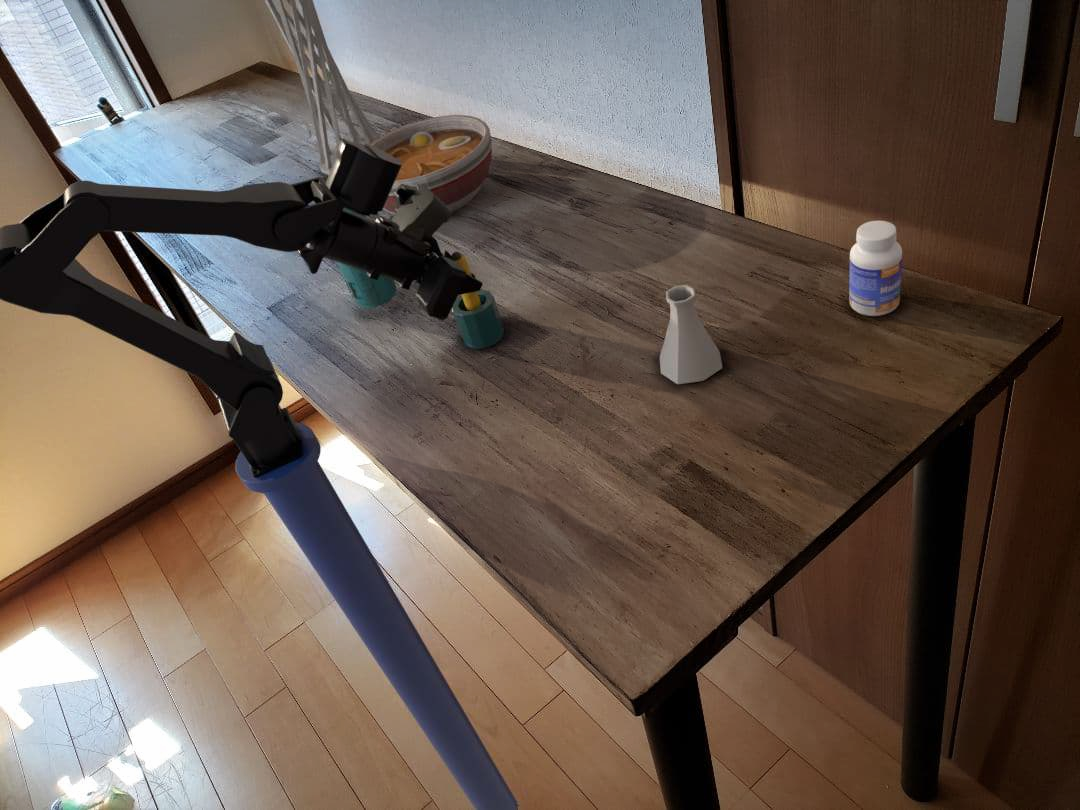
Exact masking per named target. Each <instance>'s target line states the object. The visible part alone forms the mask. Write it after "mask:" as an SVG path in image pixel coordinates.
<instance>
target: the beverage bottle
mask: <svg viewBox="0 0 1080 810" xmlns="http://www.w3.org/2000/svg"><path fill="white" fill-rule="evenodd" d="M328 176H329V175H327V174H326V175H325V176H321V177H322V178H323V179H324V181H325V182H326V180H327V178H328ZM343 210H345V211H348V212H351V213H353V214H356V215H359V216H362V217H364V218H367V216H365V215H361V214H359V213H356V212H354V211H352V210H349V209H347V208H343ZM336 263H337V264H336V265H337V267H338V269H339V272H340V273H341V274H342V276H343V280H344V282H345V285H346V287H347V289H348V291H349V293H350V295H351V297H352V299H353V300H354V302H355V304H356V305H358V306H359V307H361V308H364V309H372V308H377V307H380V306H383V305H385V304H386V303H388V302H390V301H391V300H392V299H393V298H394V297H395V295H396V293H397V283H396V281H395V280H392V279H388V278H385V277H382V276H379V278H378V280H375V279H372V278H370V277H369V276H368V275H367V273H366V272H365V271H364V270H360V269H358V268H355V267H351V266H348V265H345V264H342V263H339V262H336Z"/></svg>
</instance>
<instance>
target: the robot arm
mask: <svg viewBox="0 0 1080 810" xmlns="http://www.w3.org/2000/svg"><path fill="white" fill-rule="evenodd" d="M350 141H351V140H348V139H345V138H341V141H340V144H339V146H338V149H337V154H336V158H335V161H334V163H333V166H332V168H331V171H330V173H329V176H328V178H327V180H326V182H325V181H324V179H323V178H322V177H323V176H317V177H314V178H310V179H306V180H302V181H298V182H295V183H291V184H289V183H286V182H282V181H272V182H262V183H261V182H260V183H252V184H245V185H242V186H239V187H235V188H232V189H229V190H228V189H227V190H218V191H217V190H205V189H204V190H203V189H202V190H201V189H186V188H173V187H171V188H170V187H156V186H155V187H153V186H141V185H140V186H139V185H125V184H124V185H122V184H109V183H108V184H107V183H98V182H95V181H91V180H78V181H74V182H73V183H71V184H70V185H69V186H68V187H67V188H66V189H65V190H64V191H62V192H61V193H60V194H59V195H58V196H55V197H54V198H52V199H51V200H49V201H47V202H46V203H44V204H42V205H40V206H38V207H37V208H35V209H34V210H32V211H31V212H30V213H29V214H28V215H26V217H24V218H23V219H22V220H21V221H19V222H18V223H14V224H6V225H3V226H1V227H0V300H1V301H3V302H5V303H8V304H11V305H14V306H18V307H20V308H24V309H26V310H30V311H33V312H37V313H40V314H47V315H57V316H68V317H72V318H75V319H78V320H80V321H82V322H84V323H86V324H88V325H90V326H92V327H94V328H96V329H98V330H100V331H102V332H105V333H106V334H108V335H111V336H112V337H115V338H117V339H119V340H121V341H122V342H125V343H127V344H129V345H131V346H133V347H135V348H137V349H139V350H141V351H142V352H145V353H147V354H149V355H152V356H154V357H155V358H157V359H159V360H161V361H164V363H167V364H170V365H172V366H173V367H175V368H178V369H180V370H181V371H183V372H186V373H188V374H190V375H192V376H193V377H196V378H197V379H199V380H200V381H201V382H202V383H203V384H204V385H205V386H206V387H207V388H208V389H209V390H211V392H212V393H213V394H214V395H215V396H217V402H218V405H219V409H220V411H221V414H222V417H223V421H224V424H225V428H226V430H227V433H228V436H229V437H230V438H231V440H232V441H234V444H235V445H236V446H237V448H238V450H240V452H242V454H243V455H244V457H245V458H246V460H247V461H248V463H249V464H250V468H251V473H252V475H253V477H255V478H256V477H259V476H261V475H263V474H265V473H268V472H270V471H272V470H274V469H276V468H279V467H281V466H283V465H285V464H287V463H289V462H292V461H294V460H296V459H298V458H300V457H302V456H303V450H302V447H301V443H302V441H303V440H302V437H301V433H300V430H299V428H298V427H297V425H296V423H297V422H295V420H294V418H293V417H292V414H291V413H290V411H289V409H288V408H287V407H281V405H280V403H281V401H282V400H283V395H284V390H283V386H282V384H281V381H280V379H279V376H278V374H277V372H276V370H275V367H274V365H273V362H272V360H271V358H270V357H269V355H268V354H267V352H266V349H265V347H264V345H263V344H256V343H253V342H251V341H249V340H247V339H246V338H245V337H244V336H243V335H242V334H240V333H238V332H236V331H234V332H233V333H232V335H231V337H230V339H229V340H218V339H213V338H210V337H208V336H207V335H205V334H203V333H202V332H199V331H197V330H195V329H193V328H191V327H190V326H188V325H186V324H184V323H183V322H181V321H179V320H177V319H174V318H173V317H171V316H170V315H167V314H165V313H164V312H162V311H160V310H159V309H156V308H154V307H152V306H150V305H148V304H147V303H145V302H143V301H141V300H139V299H137V298H135V297H133V296H131V295H130V294H128V293H126V292H124V291H122V290H120V289H119V288H117V287H114V286H113V285H111V284H109V283H107V282H105V281H104V280H101V279H99V277H96V276H95V275H93V274H92V273H91V272H90V271H88V270H87V268H85V267H84V265H83V264H81V263H80V262H79V261H78V259H76V258H77V257H78V255H79V254H80V253H81V252H82V251H83V249H85V247H86V246H87V245H88V244H89V243H90V241H92V240H93V239H94V238H95V237H96V236H97V235H99V234H100V233H101V232H114V233H115V232H116V233H118V232H119V233H140V234H141V233H142V234H143V233H144V234H164V235H165V234H166V235H168V234H169V235H191V236H192V235H193V236H219V237H227V238H231V239H236V240H238V241H241V242H244V243H247V244H249V245H252V246H255V247H258V248H263V249H270V250H274V251H278V252H285V253H294V252H297V253H298V254H299V256H300V257H301V258H302V260H303V262H304V264H305V266H306V267H307V269H308V270H309V272H310V274H312V275H316V274H317V273H318V272H319V269H320V267H321V264H322V262H323V260H324V259H327V260H330V261H333V262H336V263H337V262H339V263H342V264H345V265H348V266H351V267H355V268H358V269H360V270H364V271H365V272H366V273H367V275H368V276H369V277H370V278H372V279H375V280H378V278H379V276H382V277H385V278H388V279H392V280H394V282H395V283H396V284H397V285H398V286H399V287H400V288H401V289H405V290H407V291H410V288H411V286H412V284H413V283H414V284H418V289H417V291H416V292H415V297H416V299H417V301H418V305H420V307H421V308H422V309H423V310H424V312H425V313H426V314H427V316H429V317H431V318H433V319H438V320H441V321H445V320H447V319H448V317H449V315H450V313H451V312H452V307H453V305H454V302H455V300H456V299H457V298H458V297H459V296H460V295H461V294H466V293H471V292H476V291H479V290H480V289H482V287H483V284H484V283H483V282H482V281H481V280H479V279H478V278H476V275H475V274H474V273H472V272H471V275H472V276H470V275H469V274H467V273H466V271H465V270H464V269H463V268H462V267H461V266H460V265H459V264H458V263H456V262H455V259H454V258H453V257H452V254H451V253H449V251H448V250H447V249H446V250H444V252H442V251H441V249H440V246H439V243H438V240H437V239H436V238H435V237H434V236H433V235H434V234H435V233H436V232H437V231H438V230H439V229H440V227H442V226H443V224H445V223H447V222H448V221H449V220H450V218H451V217H452V214H453V212H452V211H451V210H450V209H449V208H448V207H447V206H446V205H445V204H444V203H443V202H442V201H441V200H440V199H439V198H438V197H437V196H436V195H435V194H433V193H432V192H431V191H430V190H429V189H428V188H427V187H426V186H425V185H422V186H420V185H419V184H417V185H416V187H417V189H416V188H415V187H412V186H408V185H405V184H400V185H399V187H398V188H397V189H396V190H395V191H394V195H395V198H396V201H397V204H398V206H399V208H398V207H396V208H395V210H396V211H397V213H396V214H393V215H391V216H390V218H386V217H384V216H380V217H375V220H373V219H370V218H367V217H369V216H371V215H373V216H378V214H379V212H382V211H383V210H384V208H383V207H384V205H385V203H386V201H387V198H388V196H389V194H390V191H391V189H392V187H393V184H394V182H395V180H396V178H397V175H398V173H399V171H400V168H401V166H402V163H401V162H400V161H399V160H397V159H396V158H394V157H393V156H391V155H389V154H388V153H386V152H384V151H382V150H380V149H378V148H376V147H374V146H372V145H369V144H367V143H365V144H361V143H358V142H350ZM312 202H314V204H311V203H312ZM309 204H310V205H309ZM343 208H347V209H349V210H352V211H354V212H356V213H359V214H361V215H365V216H366V218H364V217H362V216H359V215H356V214H353V213H351V212H348V211H345V210H343Z"/></svg>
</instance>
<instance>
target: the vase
mask: <svg viewBox="0 0 1080 810" xmlns="http://www.w3.org/2000/svg"><path fill="white" fill-rule="evenodd" d="M263 1H264V3H265V4H266V6H267V7H268V9H269V12H270V14H271V15H272V17H273V19H274V21H275V23H276V24H277V26H278V28H279V31H280V32H281V34H282V36H283V38H284V40H285V42H286V44H287V45H288V48H289V50H290V52H291V53H292V56H293V59H294V62H295V64H296V68H297V70H298V75H299V77H300V79H301V83H302V86H303V90H304V93H305V96H306V98H307V101H308V104H309V107H310V111H311V116H312V121H313V127H314V131H315V136H316V142H317V147H318V153H319V158H320V159H319V162H318V167H319V169H320V172H321V173H323V174H325V175H326V176H327V175H329V173H330V171H331V168H332V166H333V163H334V161H335V158H336V154H337V149H338V146H339V144H340V141H341V139H342V137H341V134H340V129H339V128H340V127H339V123H338V118H337V113H338V114H339V117H340V118H341V119H342V120H343V122H344V123H345V125H346V126H347V129H348V132H349V135H350V138H351V140H349V141H350V142H358V143H361V144H365V143H367V144H369V145H370V144H372V143H373V142H374V141H376V140H378V139H379V138H380V137H379V135H378V134H377V133H376V131H375V129H374V128H373V126H372V125H371V123H370V122H369V120H368V118H367V117H366V115H365V113H364V112H363V111H362V109H361V108H360V106H359V104H358V102H357V101H356V100H355V98H354V97H353V94H352V93H351V92H350V90H349V87H348V86H347V84H346V82H345V79H344V77H343V75H342V73H341V71H340V69H339V67H338V65H337V63H336V61H335V59H334V57H333V55H332V53H331V50H330V49H329V47H328V44H327V41H326V38H325V34H324V31H323V28H322V25H321V22H320V19H319V15H318V13H317V10H316V7H315V4H314V3H315V2H314V0H298V3H299V5H300V6H301V11H302V14H301V12H300V11H299V9H298V8H297V2H296V0H285V1H286V2H287V4H288V5H289V7H290V11H291V15H292V16H291V15H290V13H289V12H288V11H287V9H286V8H285V5H284V3H283V0H263ZM301 26H302V27H303V29H304V31H305V34H303V32H302V30H301ZM294 34H295V35H296V37H295V35H294ZM315 48H316V49H317V52H316V51H315V50H316V49H315ZM305 50H306V51H307V52H308V55H307V54H306V51H305ZM318 68H319V69H320V70H321V73H322V76H321V75H320V73H319V71H318ZM309 71H310V72H311V75H310V73H309ZM311 76H312V77H311ZM322 77H323V78H322ZM331 86H332V87H333V89H334V91H335V92H336V95H337V98H338V100H337V99H336V97H335V96H334V94H333V93H332V89H331ZM321 89H322V90H323V92H324V94H325V95H326V99H327V105H328V109H329V110H328V109H327V107H326V105H325V103H324V101H323V98H322V91H321ZM338 101H339V102H338ZM349 111H350V112H349ZM336 112H337V113H336ZM350 113H351V114H352V115H353V117H354V119H355V120H356V122H357V123H358V127H359V128H360V129H361V132H362V134H363V136H364V137H362V136H361V135H360V133H359V132H358V131H357V129H356V128H355V126H354V125H353V122H352V119H351V115H350ZM326 121H327V123H328V126H329V127H330V130H331V131H332V133H333V135H334V138H335V145H336V146H335V147H333V148H330V144H329V140H328V133H327V132H328V131H327V126H326Z"/></svg>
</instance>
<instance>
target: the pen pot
mask: <svg viewBox="0 0 1080 810" xmlns="http://www.w3.org/2000/svg"><path fill="white" fill-rule="evenodd" d="M477 293H478V296H479V298H480V301H481V304H482V306H481V307H480V308H478V309H475V310H472V311H467V309H466V306H465V303H464V301H463V298H462V295H458V296H457V298H456V300H455V302H454V305H453V307H452V309H451V312H452V315H453V318H454V320H455V322H456V325H457V329H458V330H459V333H460V337H461V340H463V343H464V345H465V346H466V347H467V348H469V349H473V350H482V349H487V348H490V347H492V346H493V345H496V344H497V343H498V342H500V340H501V339H502V338H503V336H504V333H505V329H504V324H503V322H502V318H501V315H500V313H499V309H498V306H497V303H496V300H495V297H494V295H493V294H492V292H491V291H490V290H485V289H482V288H481V289H480V290H479V291H477Z"/></svg>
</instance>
